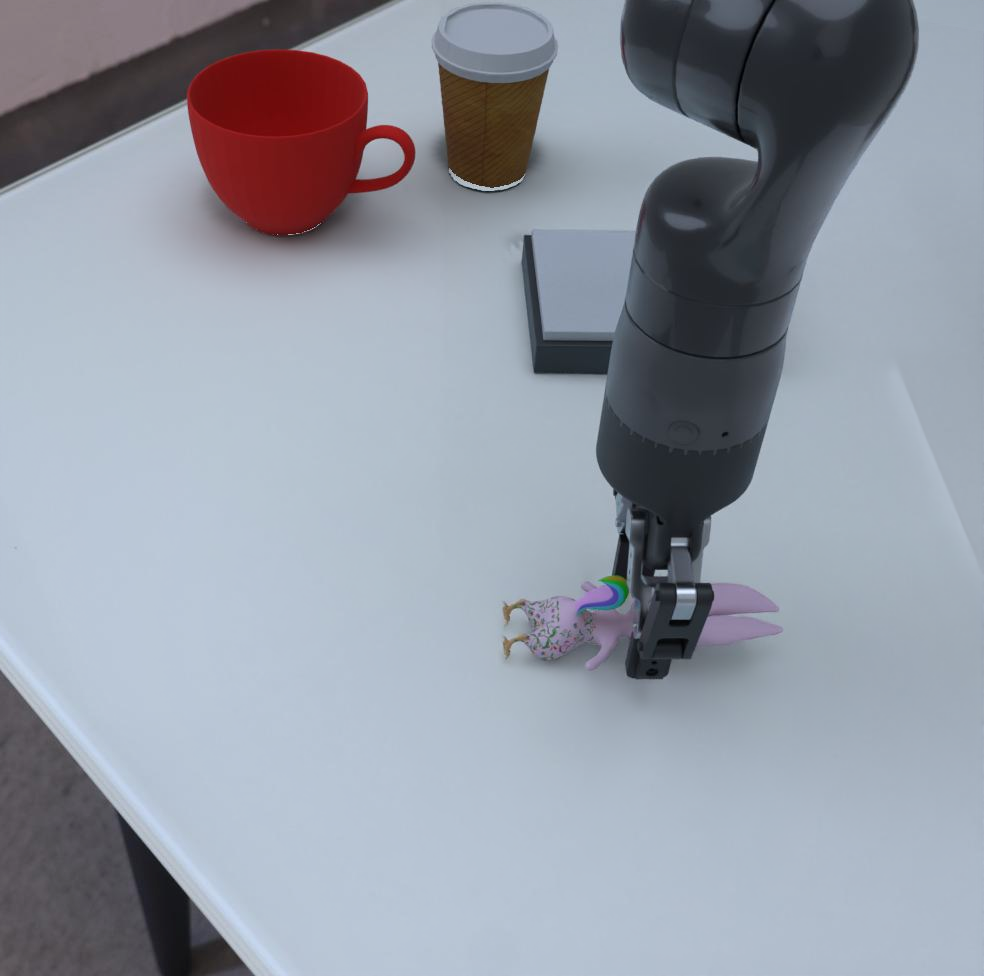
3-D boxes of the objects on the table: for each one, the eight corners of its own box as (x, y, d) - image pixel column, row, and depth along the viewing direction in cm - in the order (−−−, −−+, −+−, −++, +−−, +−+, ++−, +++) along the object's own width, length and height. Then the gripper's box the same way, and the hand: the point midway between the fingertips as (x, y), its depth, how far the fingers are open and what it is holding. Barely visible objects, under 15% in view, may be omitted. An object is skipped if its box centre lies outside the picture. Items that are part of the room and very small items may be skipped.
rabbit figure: (506, 700, 71) (788, 684, 70) (495, 630, 67) (794, 612, 65) (506, 612, 76) (771, 595, 74) (495, 542, 71) (776, 522, 70)
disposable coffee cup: (471, 129, 110) (478, -12, 102) (568, 166, 107) (583, 23, 98) (404, 176, 105) (406, 31, 96) (503, 217, 101) (514, 70, 93)
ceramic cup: (382, 288, 95) (382, 164, 87) (170, 239, 98) (153, 116, 91) (440, 196, 103) (444, 77, 96) (243, 154, 107) (233, 36, 99)
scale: (734, 264, 98) (743, 227, 96) (767, 375, 89) (778, 338, 87) (521, 261, 97) (524, 224, 95) (533, 373, 89) (537, 335, 86)
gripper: (804, 502, 54) (728, 736, 67) (743, 295, 64) (686, 532, 77) (625, 501, 54) (581, 736, 66) (591, 293, 64) (558, 531, 76)
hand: (638, 626), depth 71 cm, fingers closed on rabbit figure, 5 cm apart
